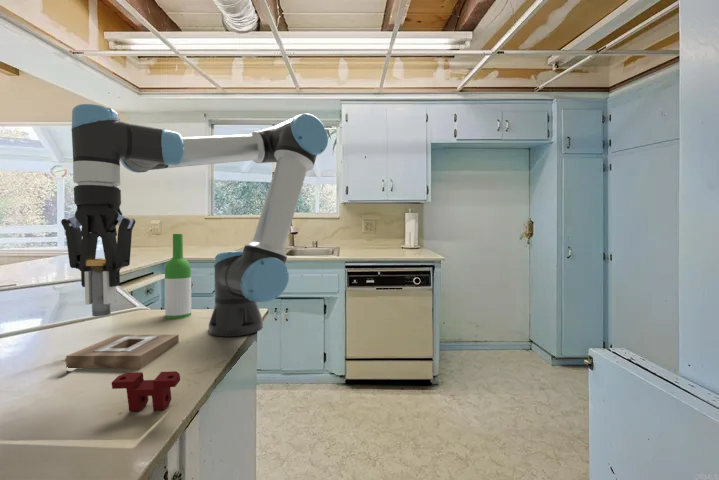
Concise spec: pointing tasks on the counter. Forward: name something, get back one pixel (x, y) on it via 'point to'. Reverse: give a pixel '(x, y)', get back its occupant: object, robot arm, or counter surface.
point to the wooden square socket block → (122, 352)
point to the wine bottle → (177, 282)
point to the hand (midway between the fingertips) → (101, 302)
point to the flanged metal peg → (98, 287)
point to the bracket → (147, 389)
